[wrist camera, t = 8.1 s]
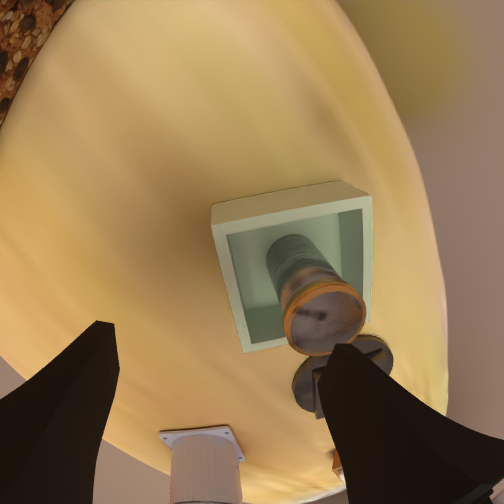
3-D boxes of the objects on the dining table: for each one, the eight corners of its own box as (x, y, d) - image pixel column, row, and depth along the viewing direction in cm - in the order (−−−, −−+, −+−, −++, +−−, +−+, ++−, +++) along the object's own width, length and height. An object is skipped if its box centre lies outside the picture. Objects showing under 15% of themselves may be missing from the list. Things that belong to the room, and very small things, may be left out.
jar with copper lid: (323, 231, 18) (375, 284, 12) (316, 284, 20) (355, 351, 13) (264, 230, 18) (290, 288, 11) (261, 285, 19) (281, 359, 13)
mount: (382, 388, 27) (390, 402, 25) (295, 415, 27) (300, 431, 25) (394, 321, 23) (406, 336, 21) (287, 352, 23) (293, 371, 21)
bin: (346, 289, 21) (369, 321, 17) (238, 314, 21) (243, 353, 17) (340, 180, 18) (371, 195, 14) (211, 204, 17) (210, 225, 14)
